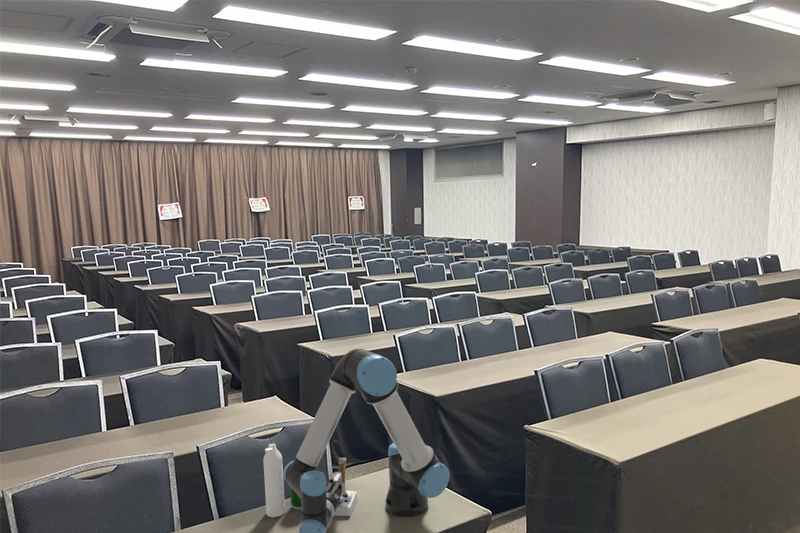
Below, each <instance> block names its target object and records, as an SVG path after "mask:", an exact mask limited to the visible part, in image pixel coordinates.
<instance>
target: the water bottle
mask: <svg viewBox="0 0 800 533" xmlns="http://www.w3.org/2000/svg"><path fill="white" fill-rule="evenodd" d="M264 452H265V454H264V456H263V461H262V462H263V472H264V473H263V474H264V476H263V477H264V491H265V492H264V493H265V494H264V495H265V496H264V497H265V510H266V512H265V513H266V516H267V517H269V518H276V517H282V516H283V515H284V514H285V513H286V504H285V502H286V500H285V487H284V486H285V483H284V476H283V471H284V468H283V456H282V453H281V452H280V451H279V450H278V449H277V445H276V443H274V442H273V443H269V444H268V447H266V448H265V449H264Z"/></svg>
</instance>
